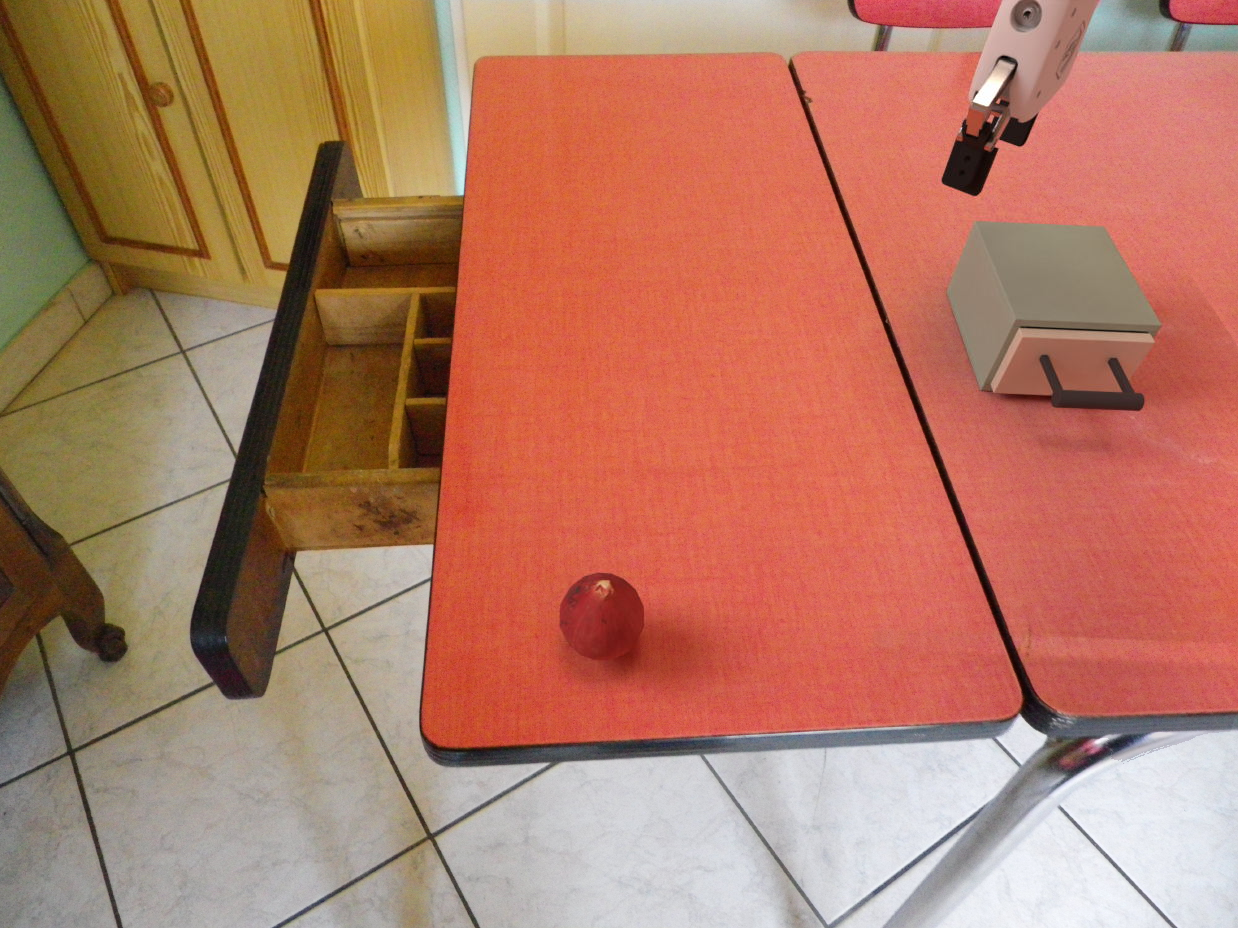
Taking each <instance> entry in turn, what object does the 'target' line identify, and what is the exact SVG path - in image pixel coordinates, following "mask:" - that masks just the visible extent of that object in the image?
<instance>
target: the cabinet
mask: <svg viewBox="0 0 1238 928" xmlns="http://www.w3.org/2000/svg"><path fill="white" fill-rule="evenodd" d="M945 292H946V296H947V299H948V302H949V305H950V307H951V311H952V313H953V316H954V318H955V322H956V325H957V328H958V330H959V333H960V336H961V339H962V341H963V344H964V348H965V350H966V354H967V357H968V359H969V362H970V365H971V367H972V371H973V374H974V376H975V378H976V382H977V386H978V388H979V390H980V391H983V392H993V390H992V387H991V382H992V380H993V378H994V376H995V374H996V372H997V370H998V368H999V366H1000V364H1001V362H1002V360H1003V358H1004V356H1005V354H1006V352H1007V350H1008V348H1009V346H1010V344H1011V342H1012V341H1013V339H1014V337H1015V335H1016V333H1017V331H1018V329H1019V328H1020V327H1021V326H1028V327H1052V328H1075V329H1099V330H1123V331H1131V332H1130V333H1150V334H1151V336H1152V337H1153V339H1154V340H1155V337H1156V336H1157V334H1158V332H1159V331H1160V330H1161V329H1162V326H1163V324H1162V322H1161V321H1160V318H1159V317H1158V315H1157V313H1156V312H1155V310H1154V308H1153V307H1152V305H1151V303H1150V302H1149V300H1148V299H1147V297H1146V295H1145V293H1144V291H1143V290H1142V288H1141V286H1140V284H1139V283H1138V280H1136V277H1135V276H1134V275H1133V273H1132V271H1131V269H1130V267H1129V265H1128V263H1126V261H1125V259H1124V257H1123V256H1122V254H1121V252H1120V250H1119V248H1118V246H1116V244H1115V242H1114V241H1113V238H1112V237H1111V235H1110V233H1109V232H1108V230H1107V228H1106V226H1104V225H1103V226H1102V225H1101V226H1100V225H1079V224H1057V223H1056V224H1053V223H1035V222H1034V223H1032V222H1031V223H1029V222H1008V221H1007V222H1006V221H984V220H983V221H982V220H975V221H974V222H973V224H972V226H971V229H970V231H969V234H968V236H967V238H966V241H965V244H964V247H963V249H962V251H961V254H960V256H959V258H958V260H957V264H956V266H955V269H954V272H953V274H952V277H951V279H950V280H949V284H948V286H947V289H946V291H945Z"/></svg>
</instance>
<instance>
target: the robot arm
mask: <svg viewBox="0 0 1238 928" xmlns="http://www.w3.org/2000/svg"><path fill="white" fill-rule="evenodd" d="M1098 2H1099V0H1001V2H1000V5H999V8H998V10H997V13H996V14H995V18H994V20H993V23H992V26H991V27H990V31H989V32H988V36H987V39H986V41H985V44H984V47H983V49H982V52H981V55H980V57H979V61H978V63H977V66H976V68H975V71H974V75H973V78H972V81H971V83H970V84H971V85H970V88H969V91H968V96H967V97H968V98H967V99H968V102H969V104H970V105H969V107H968V111H967V114H966V116H965V118H964V119H963V121H962V123H961V127H960V129H959V130H958V132H957V135H956V137H955V141H954V143H953V146H952V148H951V152H950V154H949V156H948V160H947V162H946V166H945V168H944V171H943V173H942V177H941V183H942V185H944V186H946V187H948V188H951V189H954V190H957V191H958V192H961V193H964V194H967V195H970V196H972V197H978V196H979V195H980V194H981V193H982V191H983V190H984V187H985V184H986V182H987V179H988V177H989V174H990V172H991V168H992V167H993V164H994V162H995V159H996V157H997V154H998V152H999V150H1000V148H999V147H996V145H997V144H998V141H1002V142H1005V143H1007V144H1010V145H1013V146H1015V147H1018V148H1021V147H1023V146H1025V144H1026V143H1027V141H1028V140H1029V137H1030V135H1031V132H1032V129H1033V127H1034V125H1035V123H1036V121H1037V118H1038V115H1039V114H1040V112H1041V110H1042V109H1043V108H1044V107H1046V106H1047V104H1048V103H1049V102H1050V101H1051V100H1052V99H1053V97H1055V95H1056V94H1057V93H1058V92H1059V91H1060V90H1061V88H1062V87H1063V86H1064V85H1065V83H1066V82H1067V80H1068V78H1069V75H1070V73H1071V71H1072V69H1073V66H1074V64H1075V61H1076V58H1077V56H1078V53H1079V51H1080V48H1081V46H1082V44H1083V41H1084V38H1085V37H1086V33H1087V31H1088V29H1089V25H1090V24H1091V21H1092V18H1093V15H1094V13H1095V11H1096V8H1097V5H1098ZM998 100H999V102H998ZM997 102H998V103H997ZM991 116H993V118H992V120H991V122H990V121H989V119H990V117H991Z"/></svg>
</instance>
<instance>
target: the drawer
mask: <svg viewBox="0 0 1238 928" xmlns="http://www.w3.org/2000/svg"><path fill="white" fill-rule="evenodd" d="M1130 332H1131V331H1123V330H1099V329H1075V328H1052V327H1028V326H1021V327H1020V328H1019V329H1018V331H1017V333H1016V335H1015V337H1014V339H1013V341H1012V342H1011V344H1010V346H1009V348H1008V350H1007V352H1006V354H1005V356H1004V358H1003V360H1002V362H1001V364H1000V366H999V368H998V370H997V372H996V374H995V376H994V378H993V380H992V382H991V387H992V390H993V391H992V392H993V394H1008V395H1034V396H1050V403H1051V406H1052V407H1053V408H1055V409H1056V408H1057V409H1076V410H1077V409H1079V410H1100V411H1101V410H1102V411H1103V410H1105V411H1125V412H1127V411H1128V412H1129V411H1130V412H1139V411H1141V410H1142V409H1143V408H1144V407H1145V401H1146V400H1145V396H1144V394H1143V393H1142V392H1136V391H1135V390H1134V388H1133V386H1132V384H1131V383H1130V381H1131V380H1132V378H1133V377H1134V375H1135V373H1136V372H1137V370H1138V369H1139V368H1140V366H1141V365H1142V363H1143V362H1144V360H1145V359H1146V357H1147V355H1148V354H1149V352H1150V351H1151V350H1152V348H1153V347H1154V345H1155V344H1156V341H1155V338H1154V339H1153V337H1152V336H1151V334H1150V333H1130Z"/></svg>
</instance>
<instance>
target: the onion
mask: <svg viewBox="0 0 1238 928" xmlns="http://www.w3.org/2000/svg"><path fill="white" fill-rule="evenodd" d="M561 600H562V601H561V602H560V604H559V623H558V625H559V628H560V630H561V632H562V635H563V636H564V638H565V641H566V643H567V644H568V646H570V647H571V648H572V649H573V650H574V651H575V652H576V653H577V654H578V655H580V656H583V657H585V658H587V659H590V660H593V661H611V660H614V659H616V658H619V657H622V656H625V655H626V654H627V653H629V652H630V651H631V650H632V649H633V648H634V647H635V646H636V645H637V643H638V641H639V639H640V636H641V634H642V633H643V631H644V630H643V629H644V627H645V607H644V604H643V601H642V599H641V597H640V595H639V592H638V590H637V589H636V588H635V587H634V586H633V585H632V584H631V583H629V581H627V580H626V579H625V578H623V577H621V576H618V575H616V574H614V573H611V572H610V573H609V572H595V573H592V574H587V575H584V576H583V577H581V578H580V579H578V580H577V581H576V582H574V583H573V584H572V585H571V586H570V587H569V588H568V590H567V592H566V593H565V595H564V597H563V599H561Z"/></svg>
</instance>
